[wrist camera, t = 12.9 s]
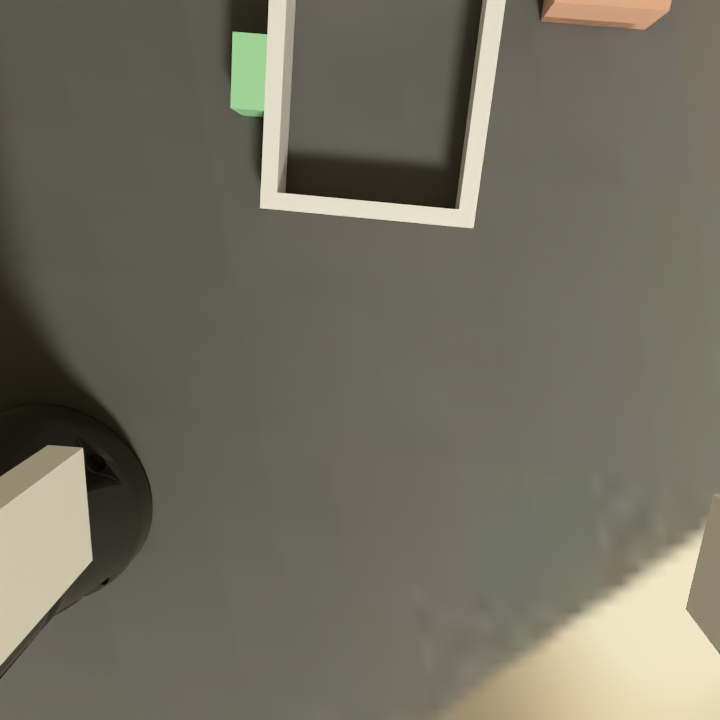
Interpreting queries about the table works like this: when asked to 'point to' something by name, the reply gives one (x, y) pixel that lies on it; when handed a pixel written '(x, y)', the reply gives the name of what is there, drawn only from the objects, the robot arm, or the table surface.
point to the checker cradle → (272, 101)
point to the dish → (605, 12)
